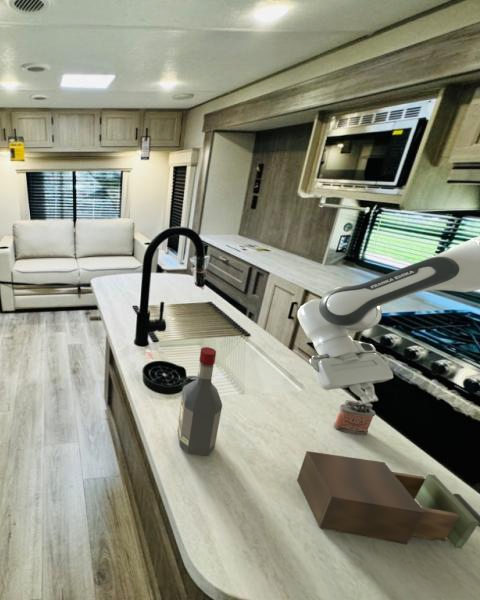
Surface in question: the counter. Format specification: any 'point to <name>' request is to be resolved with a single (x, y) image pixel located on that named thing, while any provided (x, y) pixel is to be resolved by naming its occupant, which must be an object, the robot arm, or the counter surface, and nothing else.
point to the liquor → (200, 409)
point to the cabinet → (358, 497)
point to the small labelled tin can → (354, 417)
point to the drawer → (440, 510)
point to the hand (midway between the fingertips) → (371, 401)
